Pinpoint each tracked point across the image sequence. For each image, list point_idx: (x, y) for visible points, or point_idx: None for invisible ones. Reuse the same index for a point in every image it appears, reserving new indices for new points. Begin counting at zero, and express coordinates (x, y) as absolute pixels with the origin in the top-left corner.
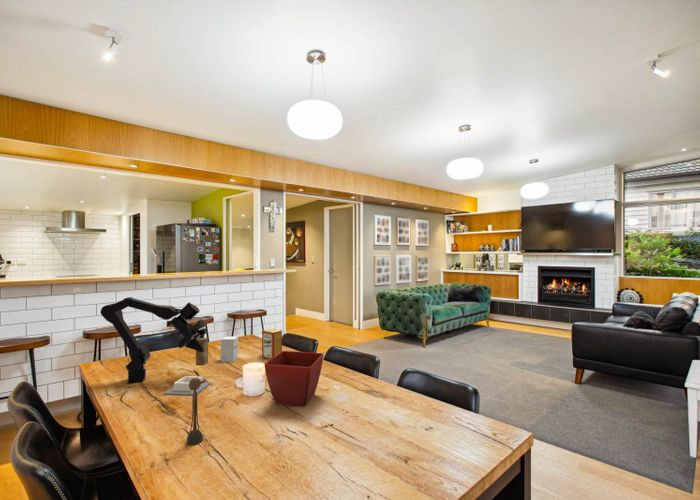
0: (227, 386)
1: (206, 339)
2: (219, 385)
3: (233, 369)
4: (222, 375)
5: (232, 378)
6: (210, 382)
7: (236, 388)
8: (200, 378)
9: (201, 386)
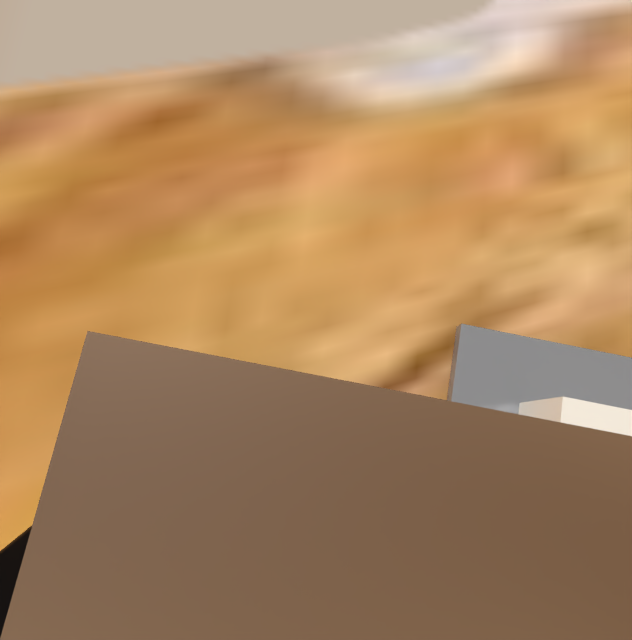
0: (545, 151)
1: (370, 388)
2: (517, 230)
3: (4, 188)
4: (209, 268)
5: (323, 145)
6: (475, 329)
7: (594, 67)
8: (617, 407)
9: (588, 393)
